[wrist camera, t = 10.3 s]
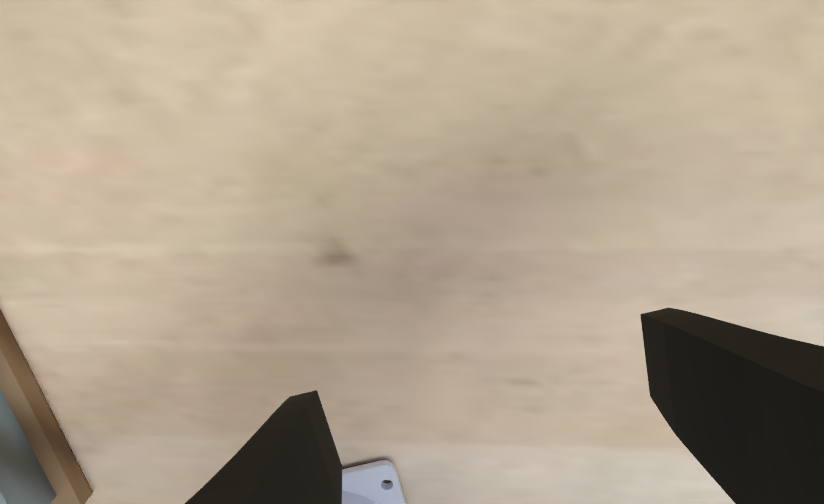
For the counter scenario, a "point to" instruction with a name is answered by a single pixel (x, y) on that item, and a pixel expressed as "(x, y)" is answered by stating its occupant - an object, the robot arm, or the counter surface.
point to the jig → (32, 438)
